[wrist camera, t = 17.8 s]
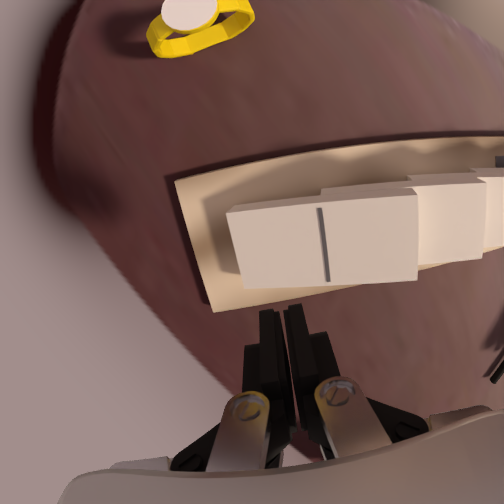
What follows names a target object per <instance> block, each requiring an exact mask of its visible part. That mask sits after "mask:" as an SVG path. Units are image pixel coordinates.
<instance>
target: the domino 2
mask: <svg viewBox="0 0 504 504" xmlns="http://www.w3.org/2000/svg"><path fill="white" fill-rule="evenodd" d="M401 188H412V189H413V190H414V191H415V192H416V193H417V194H418V212H419V248H418V265H424V264H435V263H445V262H454V261H464V260H473V259H482V254H483V246H484V235H485V222H486V201H487V183H486V182H484V181H482V180H481V179H479V178H477V177H471V178H447V179H428V180H412V181H398V182H385V183H373V184H362V185H352V186H342V187H332V188H323V189H321V194H320V195H327V194H338V193H349V192H361V191H373V190H386V189H401Z"/></svg>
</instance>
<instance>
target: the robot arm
mask: <svg viewBox="0 0 504 504" xmlns="http://www.w3.org/2000/svg"><path fill="white" fill-rule="evenodd" d="M283 312H284V319H285V327H286V334H287V341H288V349H289V357H290V364H291V372H292V379H293V385H294V390H295V396H296V401H297V406H298V412H299V417H300V423H301V428H302V431H306V430H308V435H309V439H310V440H312V441H314V442H316V443H318V444H320V449H321V452H322V455H323V457H324V460H325V461H321V462H315V463H310V464H303V465H296V466H290V467H282V463H283V455H284V454H283V449H284V448H285V447H286V446H287V445H288V444H289V443H290V442H291V441H293V440H292V433H294V432H297V424H296V415H295V407H294V398H293V390H292V382H291V373H290V366H289V360H288V355H287V349H286V344H285V339H284V334H283V329H282V324H281V318H280V313H279V311H277V312H274V310H273V309H267V310H261V311H259V323H260V343H259V344H252V345H245V348H244V366H243V384H242V393H239V394H237V395H235V396H234V397H232V398H231V399H230V400H229V401H228V403H227V405H226V406H225V409H224V413H223V416H222V419H221V422H220V423H219V424H218V425H216V426H215V427H214V428H212V429H211V430H210V431H208V432H207V433H206V434H204V435H203V436H202V437H200V438H199V439H197V440H196V441H195V442H193V443H192V444H190V445H189V446H188V447H186V448H185V449H183V450H182V451H181V452H179V453H178V454H177V455H176V456H175V457H174V458H168V457H167V456H165V457H159V458H152V459H143V460H134V461H124V462H119V463H116V464H114V465H112V466H111V467H110V469H104V470H98V471H93V472H88V473H85V474H82V475H79V476H77V477H76V478H74V479H73V480H72V481H71V482H70V483H69V484H68V485H67V487H66V488H65V490H64V491H63V493H62V495H61V497H60V499H59V501H58V503H57V504H504V409H499V410H492V409H491V408H489V407H488V406H484V405H476V406H472V407H468V408H463V409H458V410H454V411H448V412H443V413H438V414H432V415H430V416H429V418H424V419H423V418H421V417H419V416H417V415H415V414H412V413H409V412H406V411H403V410H400V409H397V408H394V407H391V406H389V405H386V404H383V403H380V402H378V401H375V400H372V399H370V398H367V397H365V395H364V393H363V392H362V390H361V388H360V387H359V385H358V384H357V383H356V382H355V381H354V380H352V379H351V378H348V377H342V376H340V372H339V369H338V366H337V362H336V359H335V356H334V353H333V350H332V346H331V343H330V340H329V337H328V334H327V332H326V331H325V332H320V333H315V334H310V335H309V332H308V328H307V324H306V320H305V316H304V312H303V308H302V304H301V303H300V304H295V305H289V306H288V310H283Z"/></svg>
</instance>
